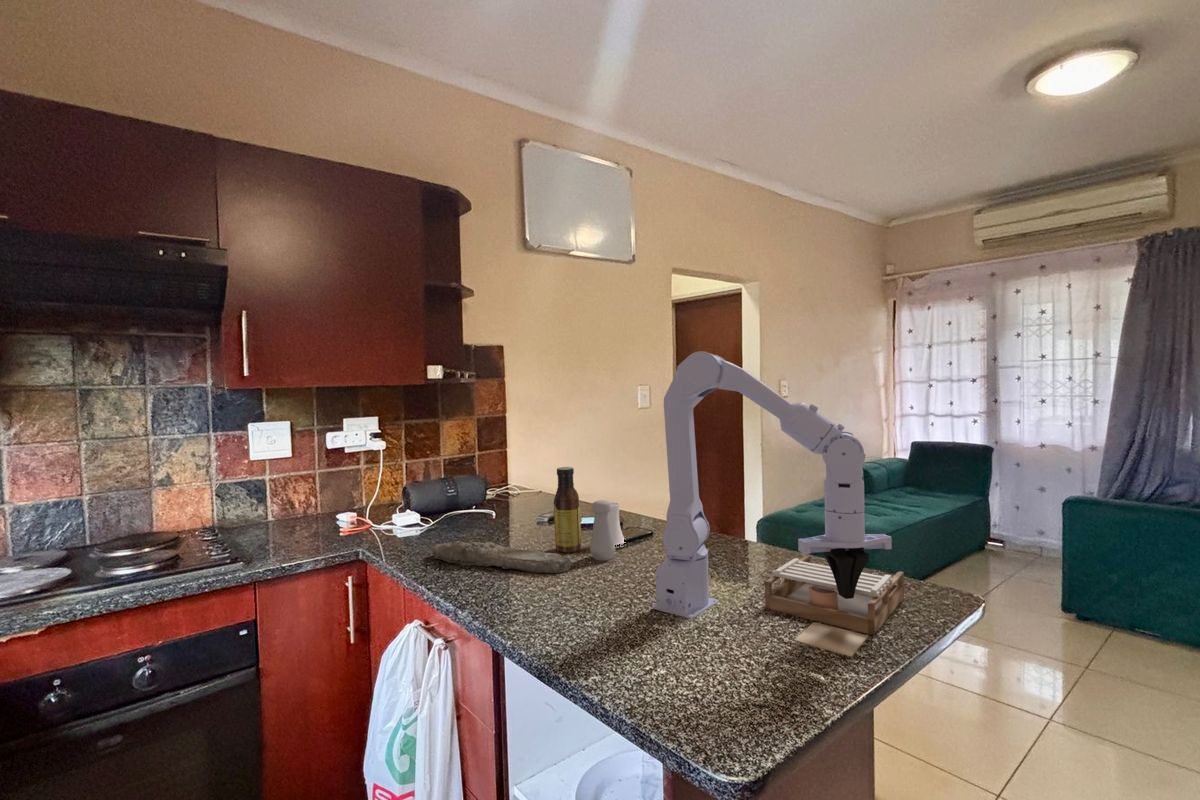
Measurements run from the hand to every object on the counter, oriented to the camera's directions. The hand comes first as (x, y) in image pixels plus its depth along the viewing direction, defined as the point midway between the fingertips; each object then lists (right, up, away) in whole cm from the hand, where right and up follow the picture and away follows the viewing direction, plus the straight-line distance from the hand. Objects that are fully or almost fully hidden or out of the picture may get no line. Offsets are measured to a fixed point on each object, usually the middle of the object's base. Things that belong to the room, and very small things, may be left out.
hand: (845, 596), depth 86 cm
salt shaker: (-38, -5, +39) cm, 54 cm away
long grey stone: (-61, -6, +37) cm, 72 cm away
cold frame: (+2, -5, +8) cm, 10 cm away
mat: (-4, -5, -5) cm, 8 cm away
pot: (-2, -4, +4) cm, 6 cm away
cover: (+1, 0, +7) cm, 7 cm away
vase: (-36, -5, +50) cm, 62 cm away
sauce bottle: (-46, -6, +46) cm, 65 cm away
